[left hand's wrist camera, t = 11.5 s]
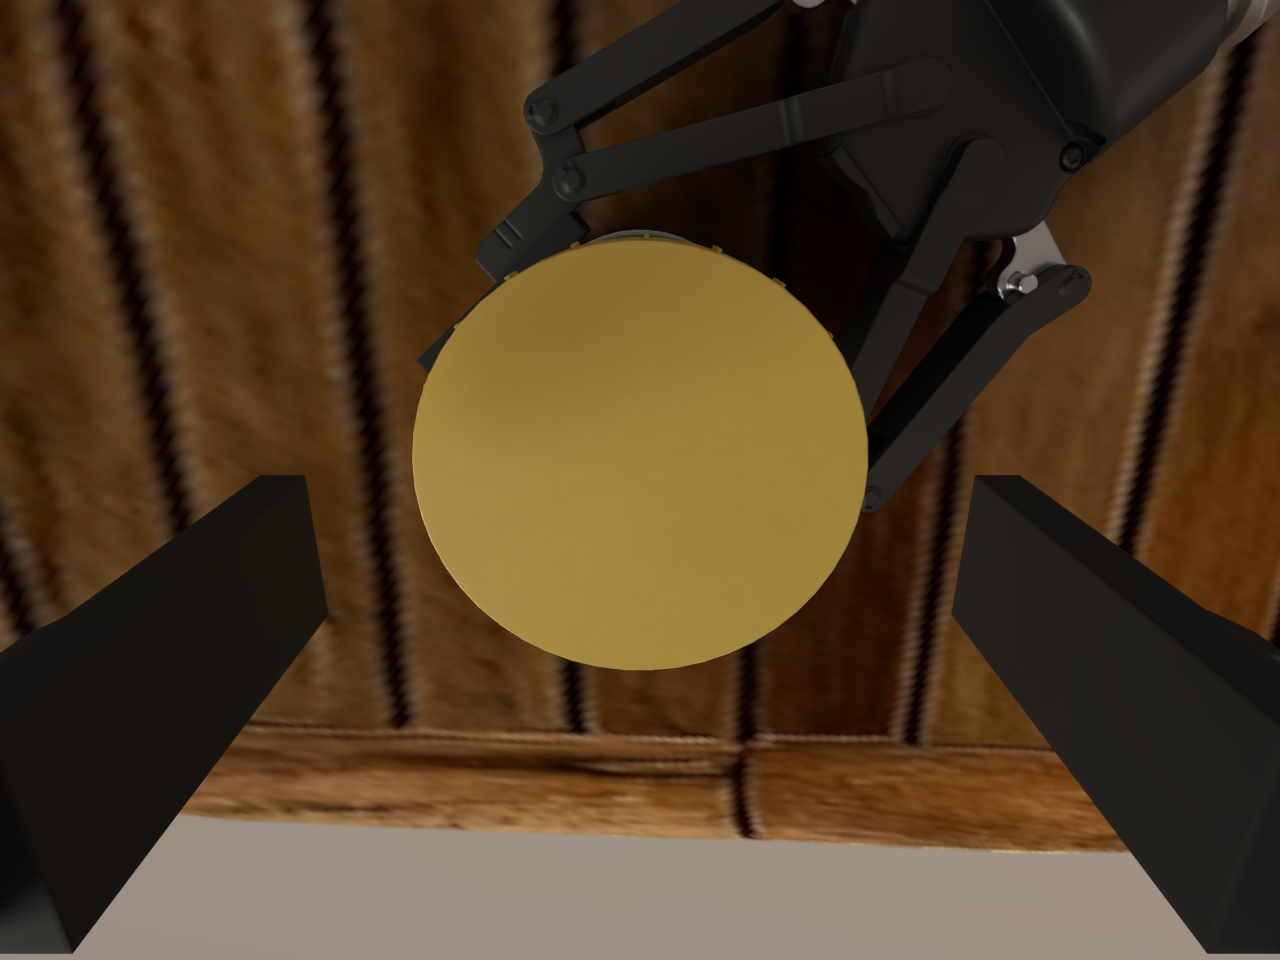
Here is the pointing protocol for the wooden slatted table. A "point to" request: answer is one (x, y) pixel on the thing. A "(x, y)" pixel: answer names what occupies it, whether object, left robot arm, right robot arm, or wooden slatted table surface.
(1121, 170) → the wooden slatted table surface
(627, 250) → the lid
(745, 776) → the wooden slatted table surface
